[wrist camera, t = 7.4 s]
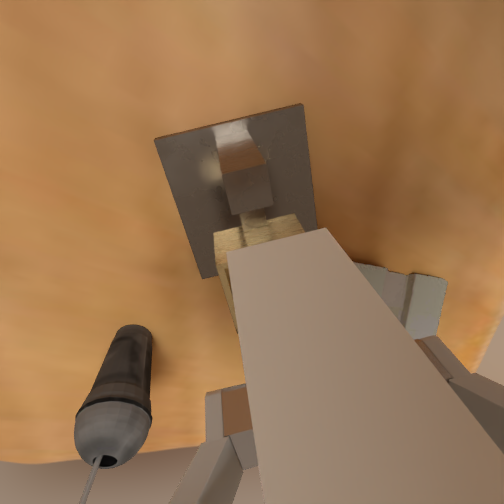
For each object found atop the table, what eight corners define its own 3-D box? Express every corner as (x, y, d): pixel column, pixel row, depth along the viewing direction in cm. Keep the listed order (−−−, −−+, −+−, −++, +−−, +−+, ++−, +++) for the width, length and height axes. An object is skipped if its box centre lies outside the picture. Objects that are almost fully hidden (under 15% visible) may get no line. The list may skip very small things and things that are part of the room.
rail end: (326, 226, 15) (728, 731, 4) (334, 306, 17) (595, 768, 6) (224, 251, 15) (311, 851, 4) (246, 328, 17) (340, 841, 6)
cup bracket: (300, 103, 32) (353, 131, 21) (317, 246, 40) (361, 321, 29) (155, 138, 32) (130, 185, 21) (202, 274, 40) (202, 359, 29)
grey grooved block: (292, 266, 47) (283, 397, 43) (340, 257, 38) (334, 420, 35) (390, 283, 55) (389, 395, 51) (448, 279, 46) (452, 414, 42)
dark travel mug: (164, 356, 46) (142, 536, 29) (108, 359, 45) (51, 547, 28) (161, 315, 42) (134, 493, 25) (100, 316, 41) (28, 504, 24)
